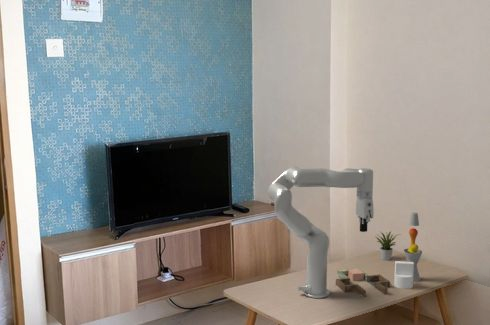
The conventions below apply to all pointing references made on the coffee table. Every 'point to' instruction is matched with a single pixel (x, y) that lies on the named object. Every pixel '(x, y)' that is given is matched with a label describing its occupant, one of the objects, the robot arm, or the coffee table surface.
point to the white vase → (403, 274)
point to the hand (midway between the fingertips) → (363, 231)
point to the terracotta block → (356, 275)
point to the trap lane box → (345, 285)
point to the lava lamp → (413, 247)
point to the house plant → (386, 246)
